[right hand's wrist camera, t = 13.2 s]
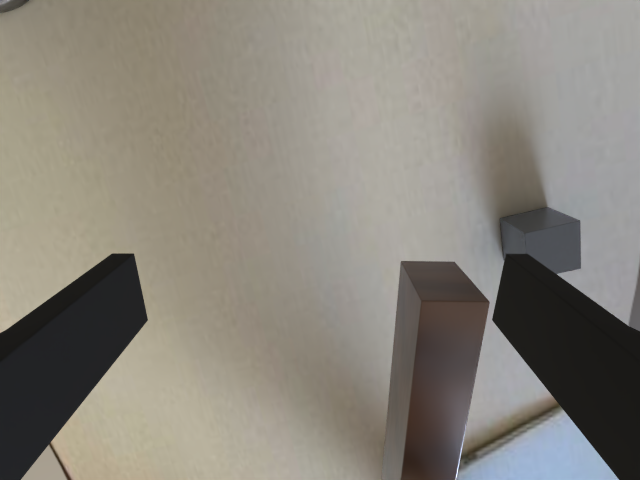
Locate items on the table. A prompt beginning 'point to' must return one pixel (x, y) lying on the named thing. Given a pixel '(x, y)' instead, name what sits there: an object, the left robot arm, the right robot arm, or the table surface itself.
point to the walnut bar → (432, 370)
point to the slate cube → (544, 238)
